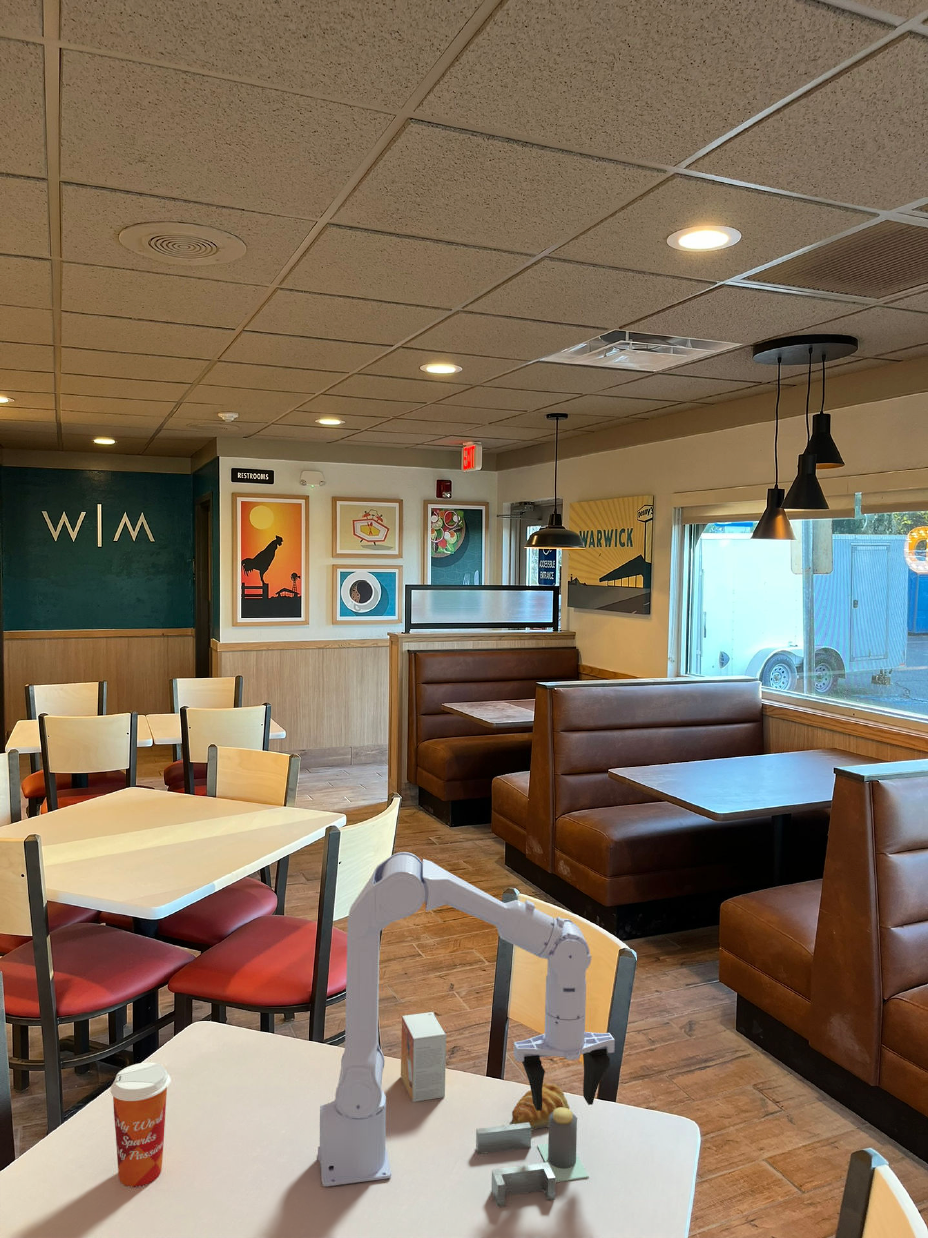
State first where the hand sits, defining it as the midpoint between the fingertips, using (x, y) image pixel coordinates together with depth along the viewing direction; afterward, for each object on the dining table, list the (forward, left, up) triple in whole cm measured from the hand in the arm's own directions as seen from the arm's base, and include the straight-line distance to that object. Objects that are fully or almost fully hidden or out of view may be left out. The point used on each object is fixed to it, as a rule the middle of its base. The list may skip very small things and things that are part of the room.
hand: (562, 1104), depth 126 cm
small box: (-16, +22, -9) cm, 29 cm away
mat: (0, 0, -9) cm, 9 cm away
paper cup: (-58, +9, -9) cm, 60 cm away
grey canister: (0, 0, -8) cm, 8 cm away
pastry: (0, +11, -9) cm, 14 cm away
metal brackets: (-7, 0, -9) cm, 11 cm away
